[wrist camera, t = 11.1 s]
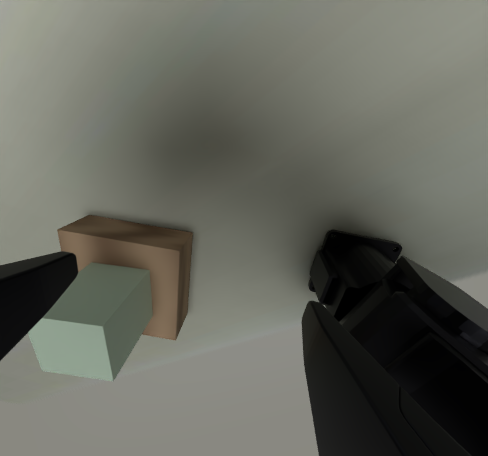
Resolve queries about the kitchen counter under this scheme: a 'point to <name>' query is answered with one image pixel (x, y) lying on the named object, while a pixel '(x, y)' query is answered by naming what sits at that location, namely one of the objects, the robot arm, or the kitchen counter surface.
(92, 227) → the walnut block
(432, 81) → the kitchen counter surface
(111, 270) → the sage cube
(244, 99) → the kitchen counter surface
